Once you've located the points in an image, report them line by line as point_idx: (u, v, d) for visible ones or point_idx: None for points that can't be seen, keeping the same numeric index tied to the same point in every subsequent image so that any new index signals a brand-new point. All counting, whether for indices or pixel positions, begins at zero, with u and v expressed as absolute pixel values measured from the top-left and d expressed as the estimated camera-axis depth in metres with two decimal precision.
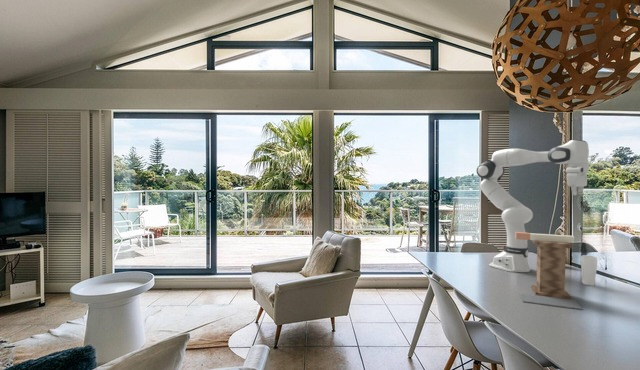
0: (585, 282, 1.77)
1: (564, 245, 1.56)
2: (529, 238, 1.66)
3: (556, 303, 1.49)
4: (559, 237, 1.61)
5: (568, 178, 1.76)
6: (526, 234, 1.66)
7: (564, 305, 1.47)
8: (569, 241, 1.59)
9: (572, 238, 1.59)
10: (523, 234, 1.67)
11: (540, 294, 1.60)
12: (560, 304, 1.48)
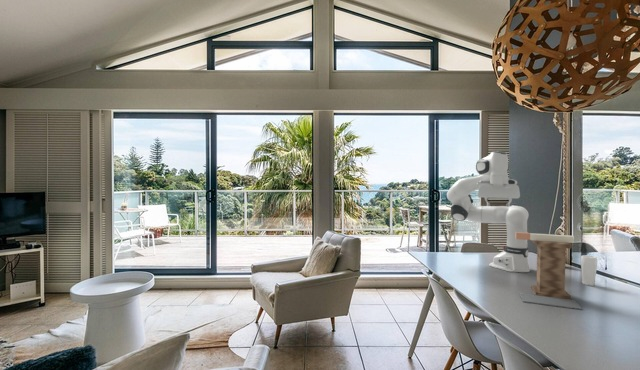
0: (585, 282, 1.77)
1: (564, 245, 1.56)
2: (529, 238, 1.66)
3: (556, 303, 1.49)
4: (559, 237, 1.61)
5: None
6: (526, 234, 1.66)
7: (564, 305, 1.47)
8: (569, 241, 1.59)
9: (572, 238, 1.59)
10: (523, 234, 1.67)
11: (540, 294, 1.60)
12: (560, 304, 1.48)
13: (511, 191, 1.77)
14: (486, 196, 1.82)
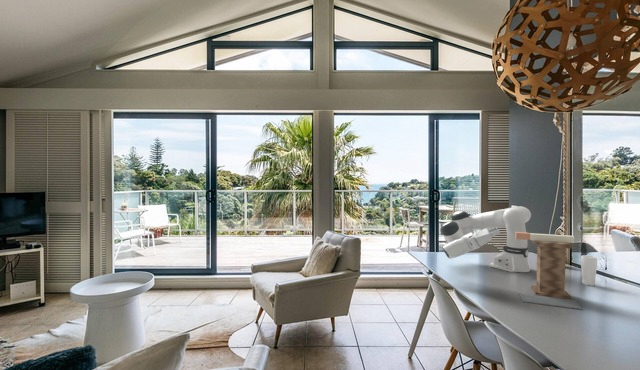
0: (585, 282, 1.77)
1: (564, 245, 1.56)
2: (529, 238, 1.66)
3: (556, 303, 1.49)
4: (559, 237, 1.61)
5: (484, 242, 1.66)
6: (526, 234, 1.66)
7: (564, 305, 1.47)
8: (569, 241, 1.59)
9: (572, 238, 1.59)
10: (523, 234, 1.67)
11: (540, 294, 1.60)
12: (560, 304, 1.48)
13: None
14: None
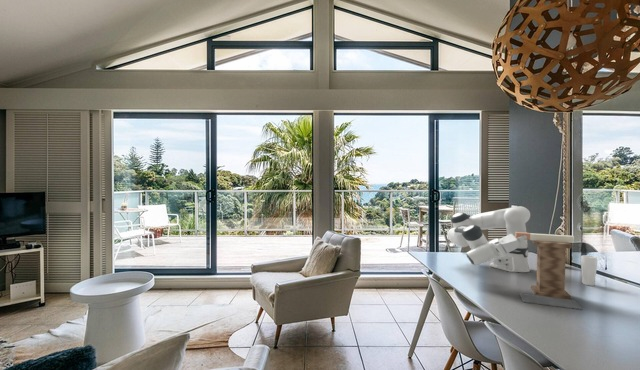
0: (585, 282, 1.77)
1: (564, 245, 1.56)
2: (529, 238, 1.66)
3: (556, 303, 1.49)
4: (559, 237, 1.61)
5: (511, 249, 1.61)
6: (526, 234, 1.66)
7: (564, 305, 1.47)
8: (569, 241, 1.59)
9: (572, 238, 1.59)
10: (523, 234, 1.66)
11: (540, 294, 1.60)
12: (560, 304, 1.48)
13: None
14: None
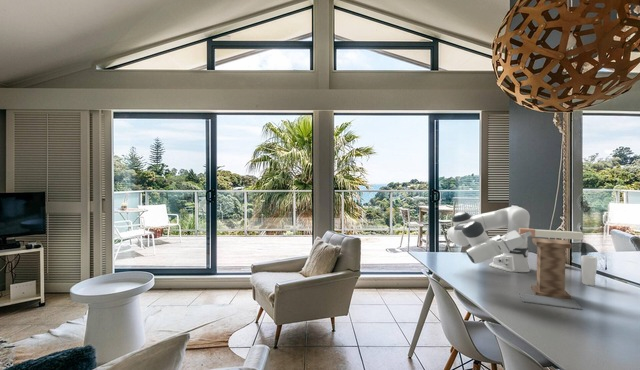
0: (585, 282, 1.77)
1: (564, 245, 1.56)
2: (534, 235, 1.53)
3: (556, 303, 1.49)
4: (566, 233, 1.49)
5: (515, 246, 1.49)
6: (531, 230, 1.54)
7: (564, 305, 1.47)
8: (577, 238, 1.47)
9: (581, 234, 1.46)
10: (527, 230, 1.54)
11: (540, 294, 1.60)
12: (560, 304, 1.48)
13: None
14: None
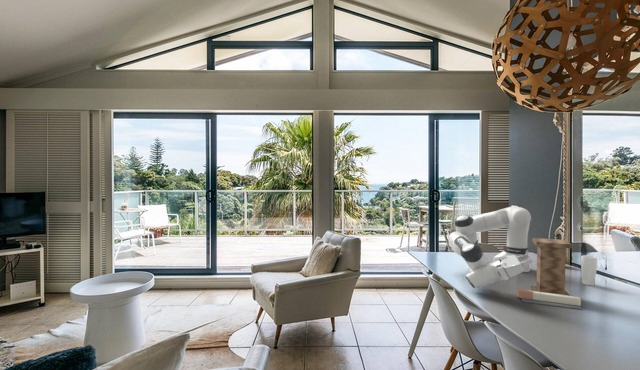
0: (585, 282, 1.77)
1: (564, 245, 1.56)
2: (532, 297, 1.55)
3: (556, 303, 1.49)
4: (564, 298, 1.49)
5: (515, 273, 1.50)
6: (528, 293, 1.55)
7: (564, 305, 1.47)
8: (575, 303, 1.48)
9: (578, 300, 1.47)
10: (525, 292, 1.56)
11: None
12: (560, 304, 1.48)
13: None
14: None
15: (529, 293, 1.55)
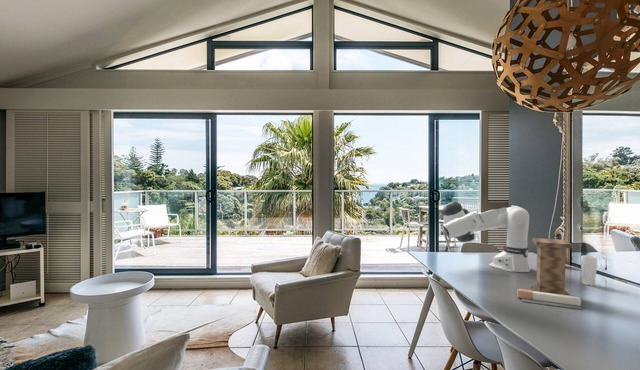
0: (585, 282, 1.77)
1: (564, 245, 1.56)
2: (532, 297, 1.55)
3: (556, 303, 1.49)
4: (564, 298, 1.49)
5: (489, 219, 1.54)
6: (528, 293, 1.55)
7: (564, 305, 1.47)
8: (575, 303, 1.48)
9: (578, 300, 1.47)
10: (525, 292, 1.56)
11: None
12: (560, 304, 1.48)
13: None
14: None
15: (529, 293, 1.55)
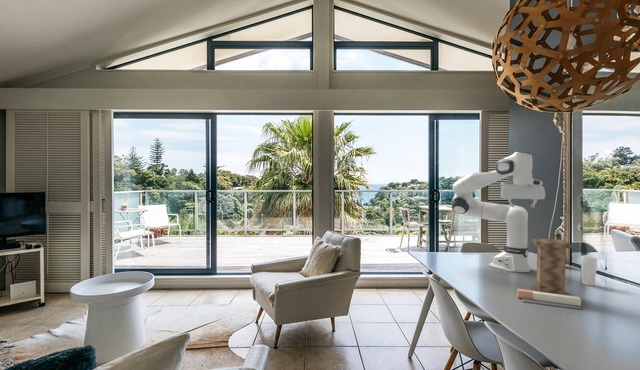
0: (585, 282, 1.77)
1: (564, 245, 1.56)
2: (532, 297, 1.55)
3: (556, 303, 1.49)
4: (564, 298, 1.49)
5: (544, 191, 1.73)
6: (528, 293, 1.55)
7: (564, 305, 1.47)
8: (575, 303, 1.48)
9: (578, 300, 1.47)
10: (525, 292, 1.56)
11: None
12: (560, 304, 1.48)
13: (536, 192, 1.74)
14: (510, 197, 1.79)
15: (529, 293, 1.55)
